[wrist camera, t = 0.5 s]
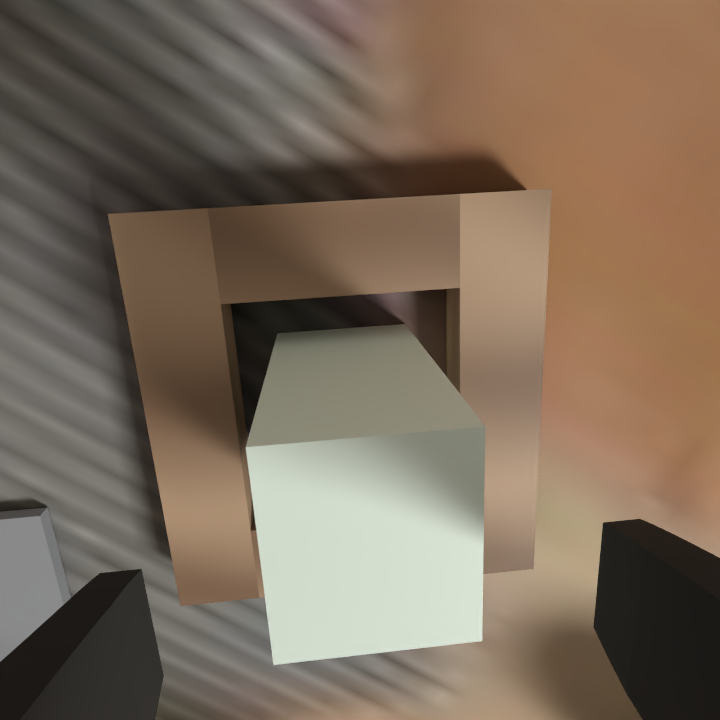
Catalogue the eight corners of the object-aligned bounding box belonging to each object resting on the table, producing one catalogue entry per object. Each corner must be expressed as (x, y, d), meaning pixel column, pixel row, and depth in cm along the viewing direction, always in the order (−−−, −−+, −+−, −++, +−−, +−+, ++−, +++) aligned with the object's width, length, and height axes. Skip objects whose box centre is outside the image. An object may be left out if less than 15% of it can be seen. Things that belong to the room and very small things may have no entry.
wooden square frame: (515, 539, 19) (533, 568, 18) (191, 572, 18) (180, 606, 17) (528, 190, 16) (551, 188, 14) (129, 213, 15) (107, 213, 13)
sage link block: (409, 453, 18) (482, 640, 10) (290, 464, 17) (273, 664, 10) (405, 324, 16) (485, 426, 9) (277, 333, 16) (245, 447, 9)
